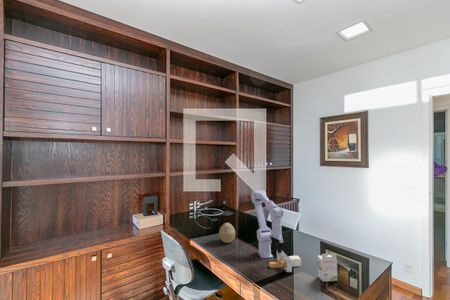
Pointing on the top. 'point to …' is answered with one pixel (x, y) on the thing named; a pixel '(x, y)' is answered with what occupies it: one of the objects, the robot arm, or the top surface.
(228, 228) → the fossilized egg
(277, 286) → the top surface
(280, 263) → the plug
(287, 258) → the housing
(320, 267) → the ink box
